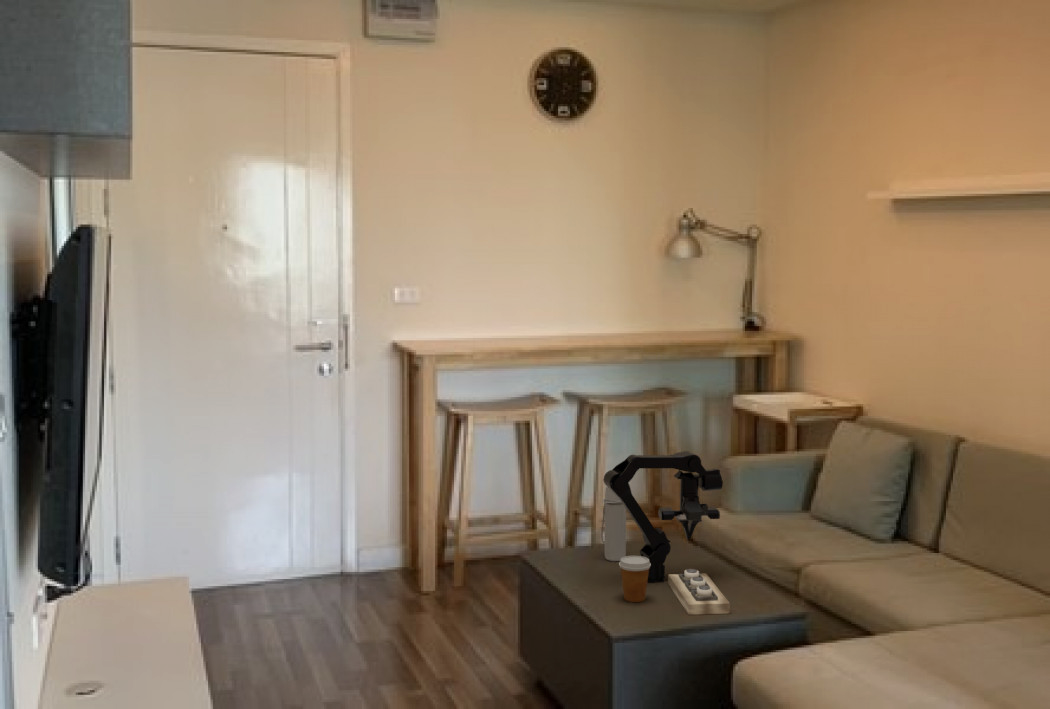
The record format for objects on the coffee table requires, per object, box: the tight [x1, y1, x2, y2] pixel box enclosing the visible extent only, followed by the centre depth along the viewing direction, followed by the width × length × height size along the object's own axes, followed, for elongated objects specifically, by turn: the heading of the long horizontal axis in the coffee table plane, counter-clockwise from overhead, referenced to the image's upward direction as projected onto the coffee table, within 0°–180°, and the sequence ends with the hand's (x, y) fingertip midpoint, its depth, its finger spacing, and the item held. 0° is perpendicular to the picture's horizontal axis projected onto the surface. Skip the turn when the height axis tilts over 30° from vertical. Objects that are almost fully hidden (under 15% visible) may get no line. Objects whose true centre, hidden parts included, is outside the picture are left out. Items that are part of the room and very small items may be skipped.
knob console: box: [667, 572, 731, 616], centre depth 321 cm, size 12×28×4 cm, turn 4°
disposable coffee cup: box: [618, 555, 651, 603], centre depth 321 cm, size 10×10×12 cm
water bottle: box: [600, 485, 627, 562], centre depth 361 cm, size 9×8×25 cm
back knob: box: [683, 568, 700, 580], centre depth 329 cm, size 4×4×3 cm
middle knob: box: [690, 577, 705, 588], centre depth 321 cm, size 4×4×3 cm
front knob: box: [697, 585, 712, 597], centre depth 313 cm, size 4×4×3 cm
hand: (688, 539), depth 341 cm, fingers closed
